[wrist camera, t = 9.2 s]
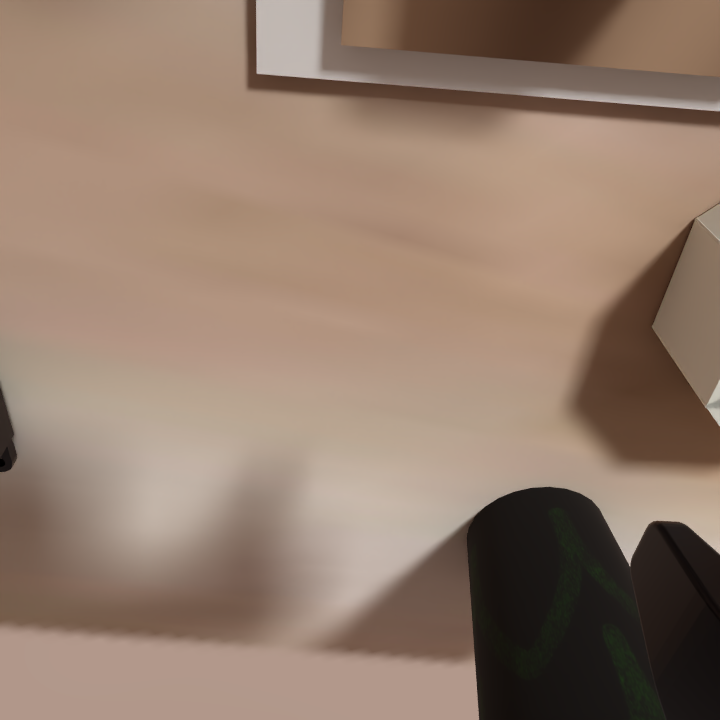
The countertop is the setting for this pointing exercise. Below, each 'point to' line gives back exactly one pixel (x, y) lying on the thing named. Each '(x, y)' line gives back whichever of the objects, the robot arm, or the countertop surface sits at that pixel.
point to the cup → (555, 613)
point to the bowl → (696, 311)
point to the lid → (547, 31)
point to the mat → (453, 65)
